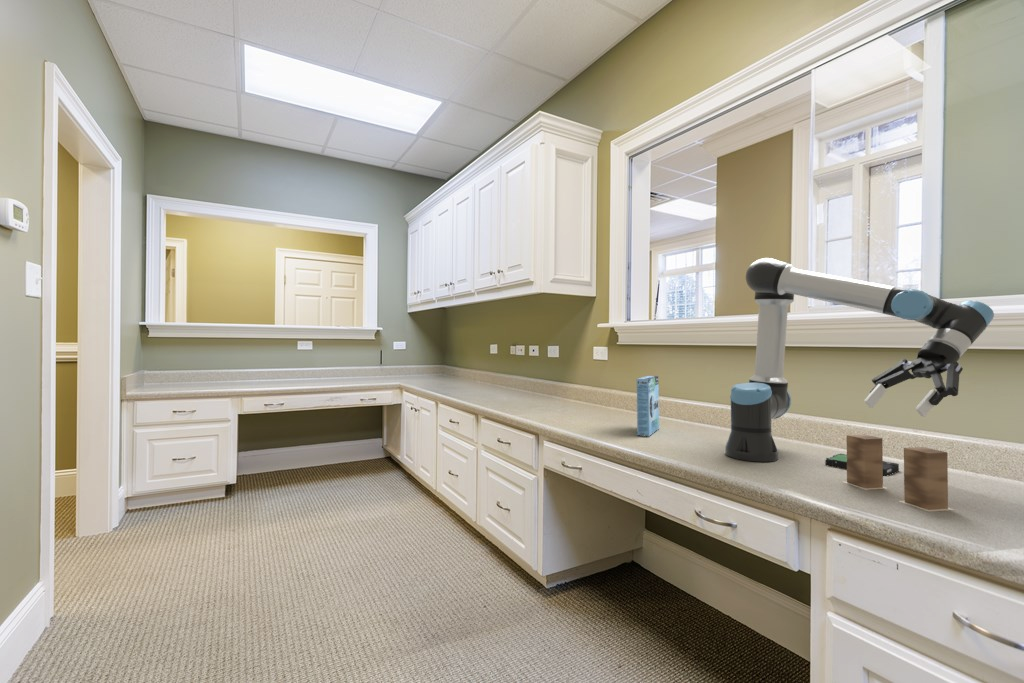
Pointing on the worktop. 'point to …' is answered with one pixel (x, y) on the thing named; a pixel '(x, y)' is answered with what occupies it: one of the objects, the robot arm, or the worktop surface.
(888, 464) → the disk drive
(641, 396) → the light blue cardboard box
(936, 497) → the built post
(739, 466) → the worktop surface
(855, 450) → the post
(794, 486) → the worktop surface
